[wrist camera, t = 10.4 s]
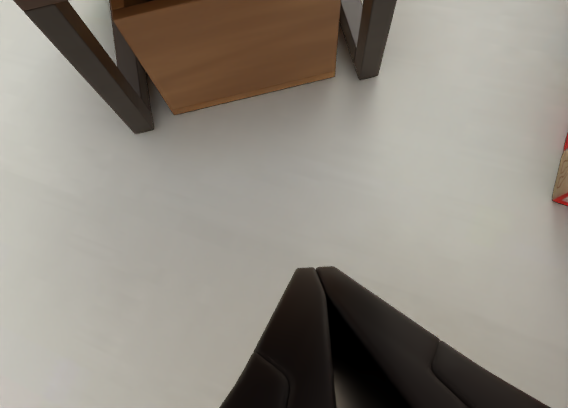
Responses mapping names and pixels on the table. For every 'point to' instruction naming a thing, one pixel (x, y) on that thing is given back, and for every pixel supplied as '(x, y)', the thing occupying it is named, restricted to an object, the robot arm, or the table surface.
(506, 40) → the table surface
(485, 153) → the table surface
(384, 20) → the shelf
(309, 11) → the wood grain slab box
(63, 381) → the table surface
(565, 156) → the stack of blocks
